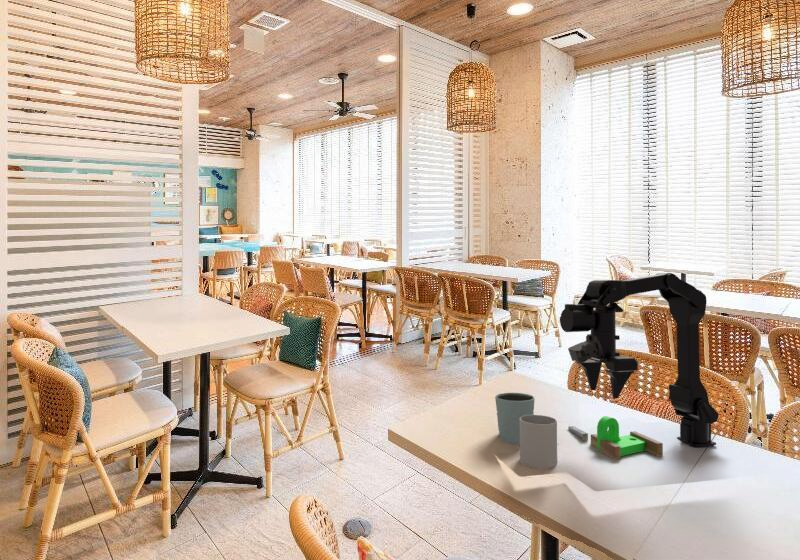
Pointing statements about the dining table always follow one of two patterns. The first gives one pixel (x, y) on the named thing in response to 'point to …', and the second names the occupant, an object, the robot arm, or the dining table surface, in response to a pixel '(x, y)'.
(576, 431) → the u-shaped bracket
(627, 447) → the mechanical part
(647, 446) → the beam rails
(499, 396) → the teal tapered tumbler
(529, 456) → the cup
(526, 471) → the dining table surface
